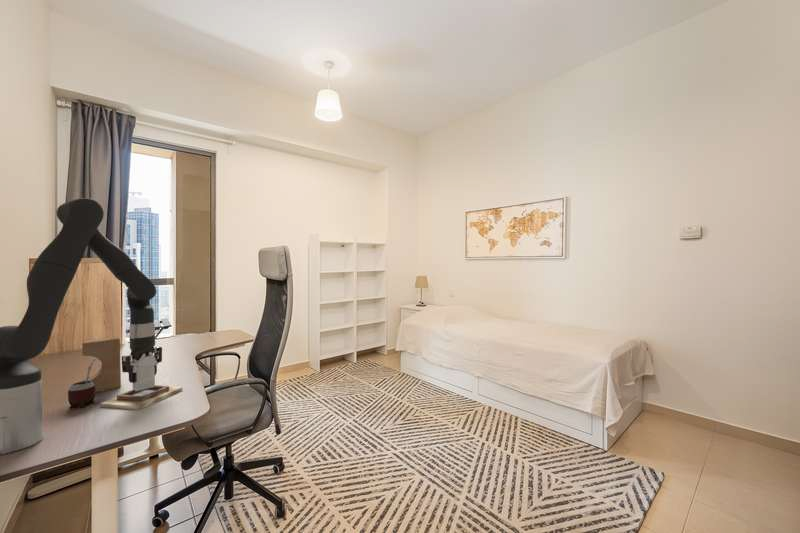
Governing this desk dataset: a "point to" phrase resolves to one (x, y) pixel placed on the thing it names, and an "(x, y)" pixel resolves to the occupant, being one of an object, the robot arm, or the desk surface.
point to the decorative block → (105, 362)
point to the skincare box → (145, 374)
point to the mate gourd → (82, 392)
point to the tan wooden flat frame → (141, 397)
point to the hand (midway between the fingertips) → (143, 378)
